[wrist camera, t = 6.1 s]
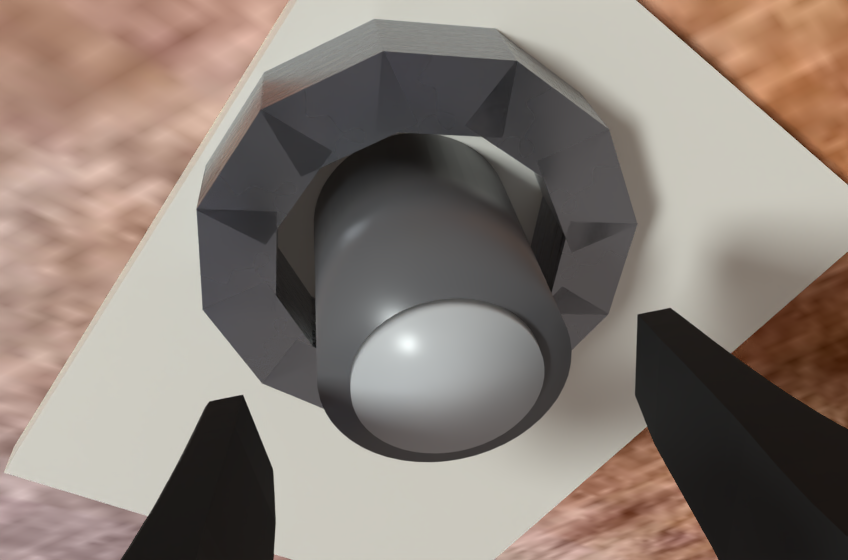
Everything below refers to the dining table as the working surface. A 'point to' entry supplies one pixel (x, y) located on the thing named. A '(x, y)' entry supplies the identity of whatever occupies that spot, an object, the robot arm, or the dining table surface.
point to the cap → (430, 304)
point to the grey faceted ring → (378, 119)
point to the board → (640, 280)
